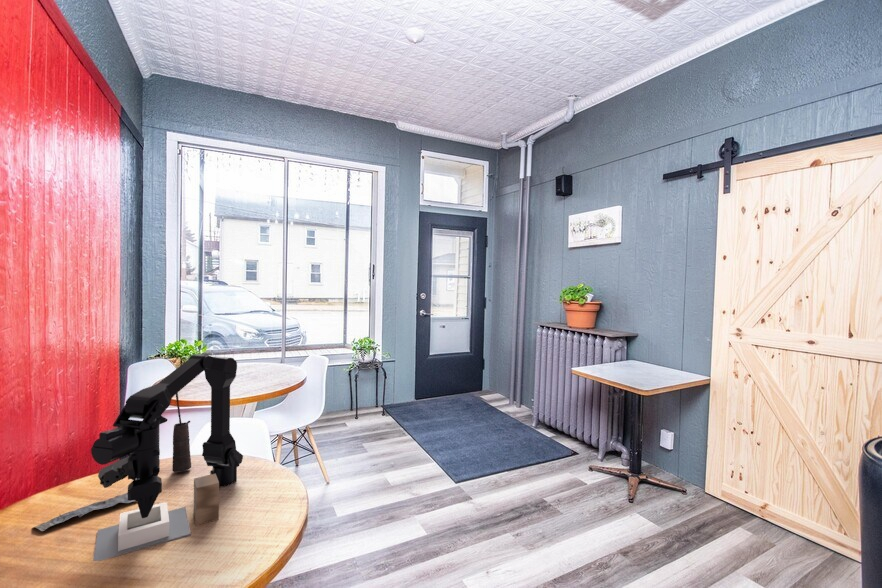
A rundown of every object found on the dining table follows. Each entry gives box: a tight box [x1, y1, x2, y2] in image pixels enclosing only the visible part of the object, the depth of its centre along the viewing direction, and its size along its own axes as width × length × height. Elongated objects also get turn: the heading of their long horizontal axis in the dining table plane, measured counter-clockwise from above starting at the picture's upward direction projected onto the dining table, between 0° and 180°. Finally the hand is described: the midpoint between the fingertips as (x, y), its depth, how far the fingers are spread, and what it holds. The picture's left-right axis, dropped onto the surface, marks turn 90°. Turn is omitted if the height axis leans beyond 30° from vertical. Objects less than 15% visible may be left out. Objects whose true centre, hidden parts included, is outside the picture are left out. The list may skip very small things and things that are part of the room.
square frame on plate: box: [92, 501, 192, 562], centre depth 97 cm, size 18×14×4 cm
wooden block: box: [193, 473, 220, 526], centre depth 105 cm, size 5×6×10 cm
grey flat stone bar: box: [33, 491, 136, 532], centre depth 105 cm, size 21×7×2 cm, turn 144°
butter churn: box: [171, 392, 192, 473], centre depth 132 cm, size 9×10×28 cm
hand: (144, 509), depth 97 cm, fingers open, 7 cm apart
